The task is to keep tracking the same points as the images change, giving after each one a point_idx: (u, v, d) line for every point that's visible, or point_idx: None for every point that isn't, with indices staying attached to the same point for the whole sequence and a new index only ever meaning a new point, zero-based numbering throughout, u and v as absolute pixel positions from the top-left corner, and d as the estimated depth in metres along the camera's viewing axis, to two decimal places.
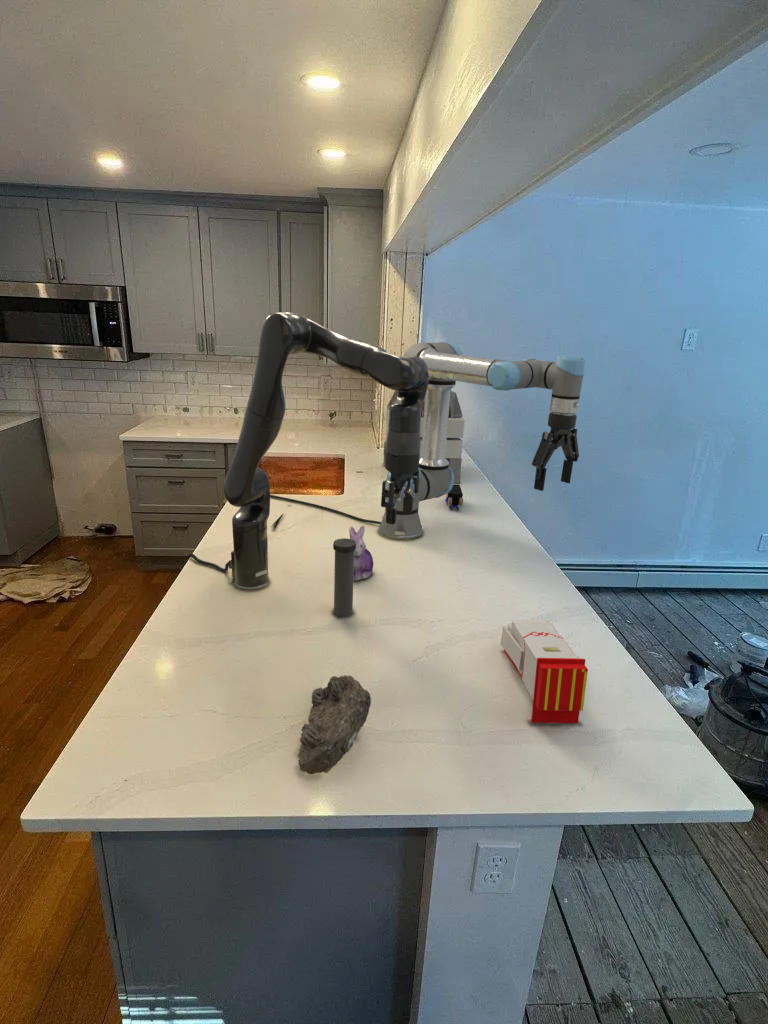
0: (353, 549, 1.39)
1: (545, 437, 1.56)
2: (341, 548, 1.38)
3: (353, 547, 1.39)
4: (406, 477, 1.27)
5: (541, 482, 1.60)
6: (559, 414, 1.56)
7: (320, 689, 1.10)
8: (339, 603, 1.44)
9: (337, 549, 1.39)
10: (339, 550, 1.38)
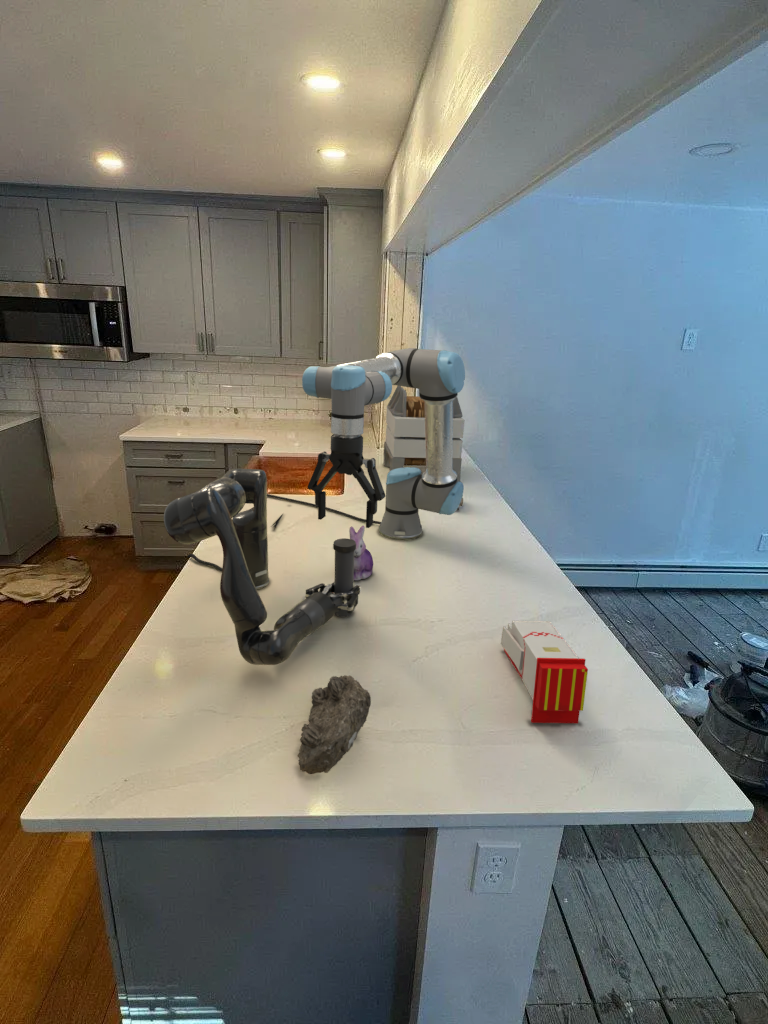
0: (353, 549, 1.39)
1: (373, 465, 1.31)
2: (341, 548, 1.38)
3: (353, 547, 1.39)
4: None
5: (372, 515, 1.36)
6: (360, 435, 1.31)
7: (320, 689, 1.10)
8: None
9: (337, 549, 1.39)
10: (339, 550, 1.38)
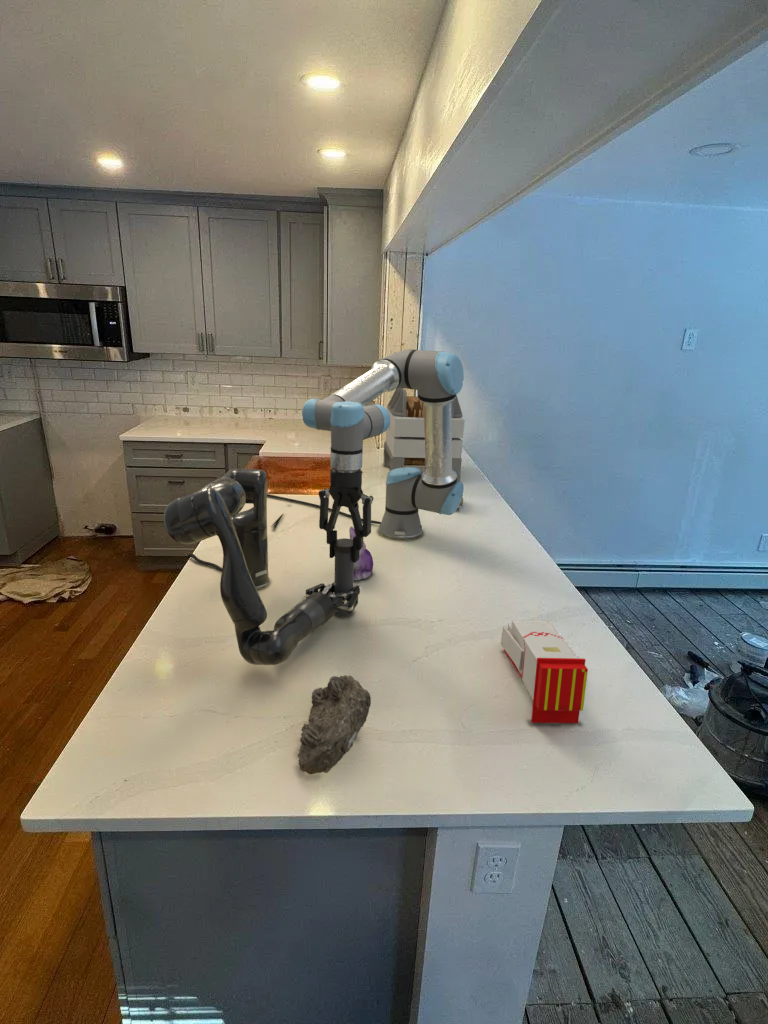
0: None
1: (370, 503, 1.35)
2: (341, 548, 1.38)
3: None
4: None
5: (358, 550, 1.41)
6: (359, 469, 1.34)
7: (320, 689, 1.10)
8: None
9: (337, 549, 1.39)
10: (339, 550, 1.38)
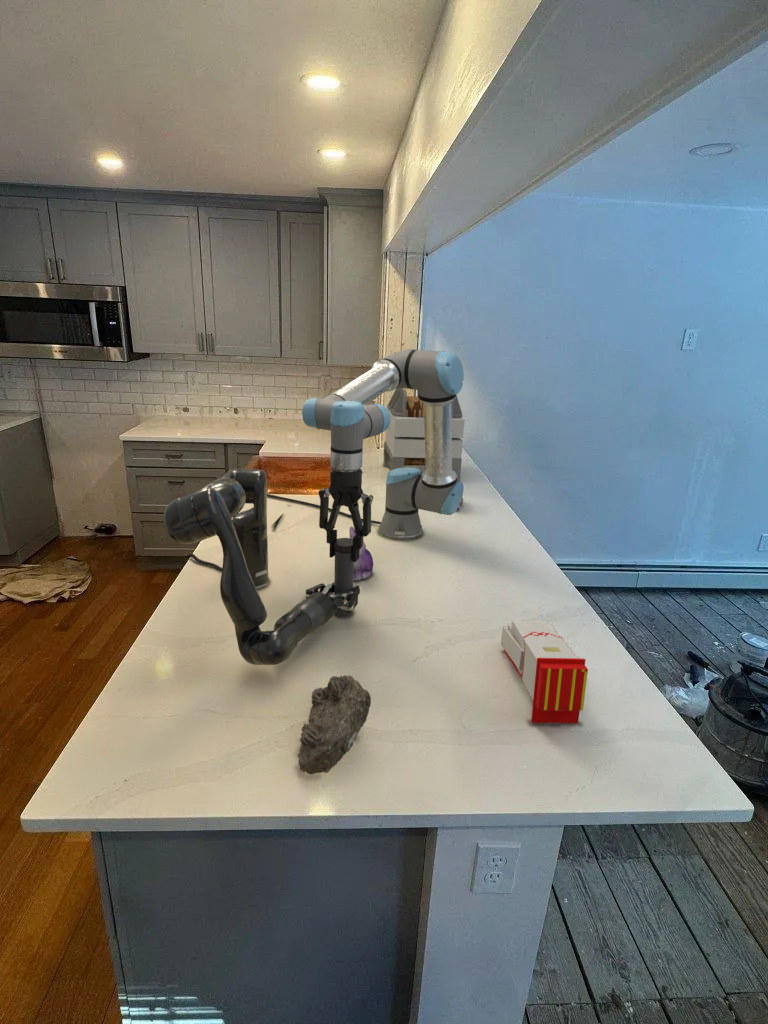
0: None
1: (370, 503, 1.35)
2: None
3: None
4: None
5: (358, 550, 1.41)
6: (359, 468, 1.34)
7: (320, 689, 1.10)
8: None
9: None
10: None
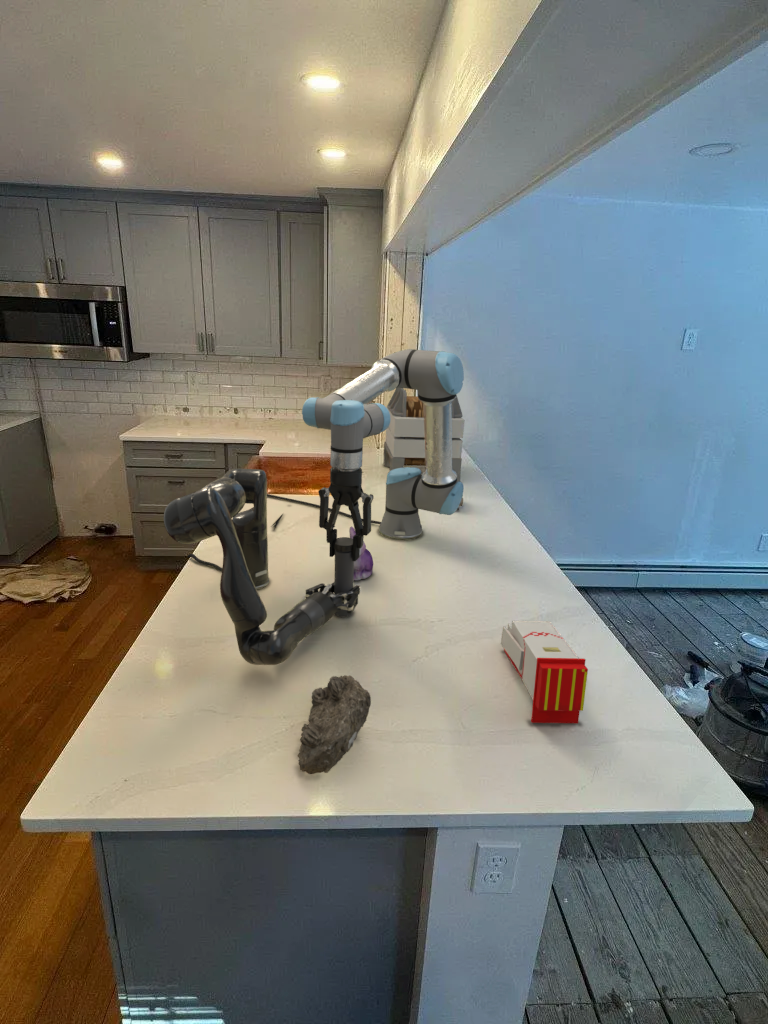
0: (335, 548, 1.39)
1: (370, 502, 1.34)
2: None
3: (335, 546, 1.39)
4: None
5: (358, 549, 1.41)
6: (359, 468, 1.34)
7: (320, 689, 1.10)
8: None
9: None
10: None
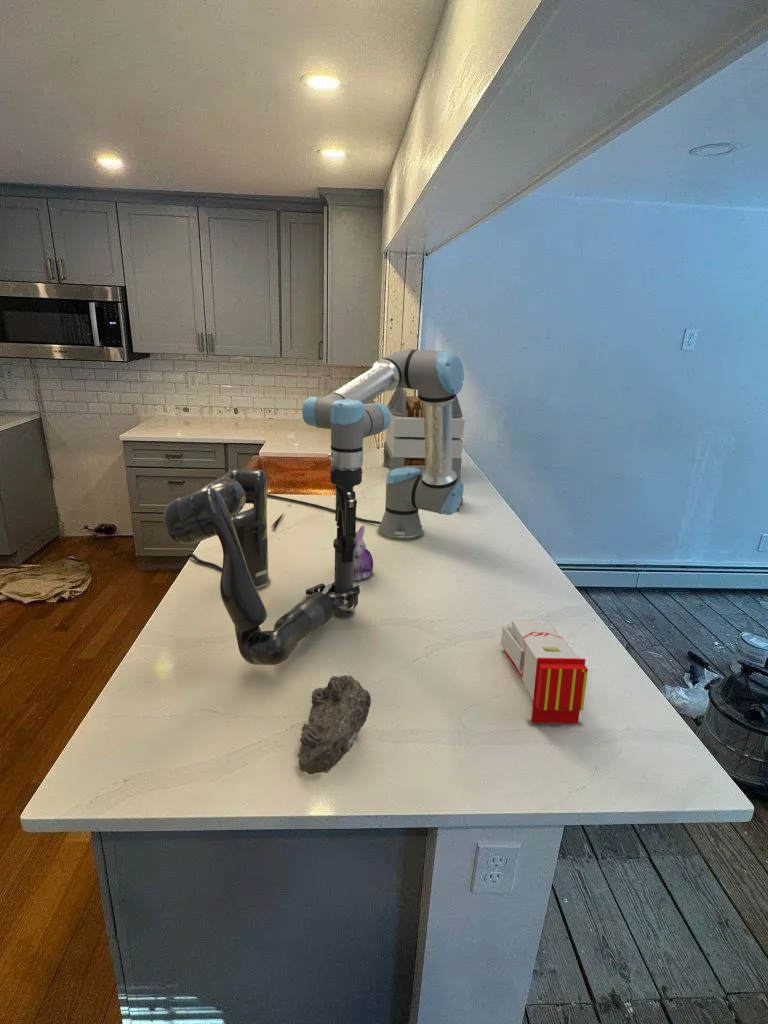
0: (355, 546, 1.40)
1: None
2: None
3: (355, 544, 1.40)
4: None
5: None
6: None
7: (320, 689, 1.10)
8: None
9: (341, 548, 1.38)
10: None
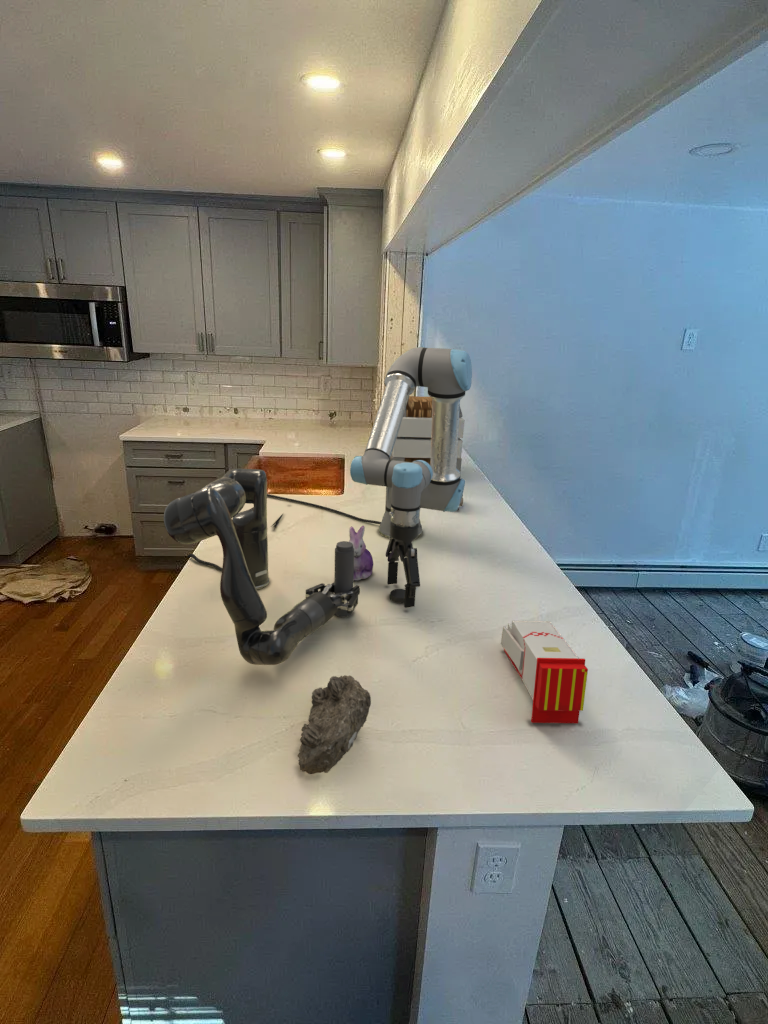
0: None
1: None
2: (402, 599, 1.53)
3: None
4: None
5: None
6: None
7: (320, 689, 1.10)
8: None
9: (398, 601, 1.53)
10: (400, 601, 1.53)
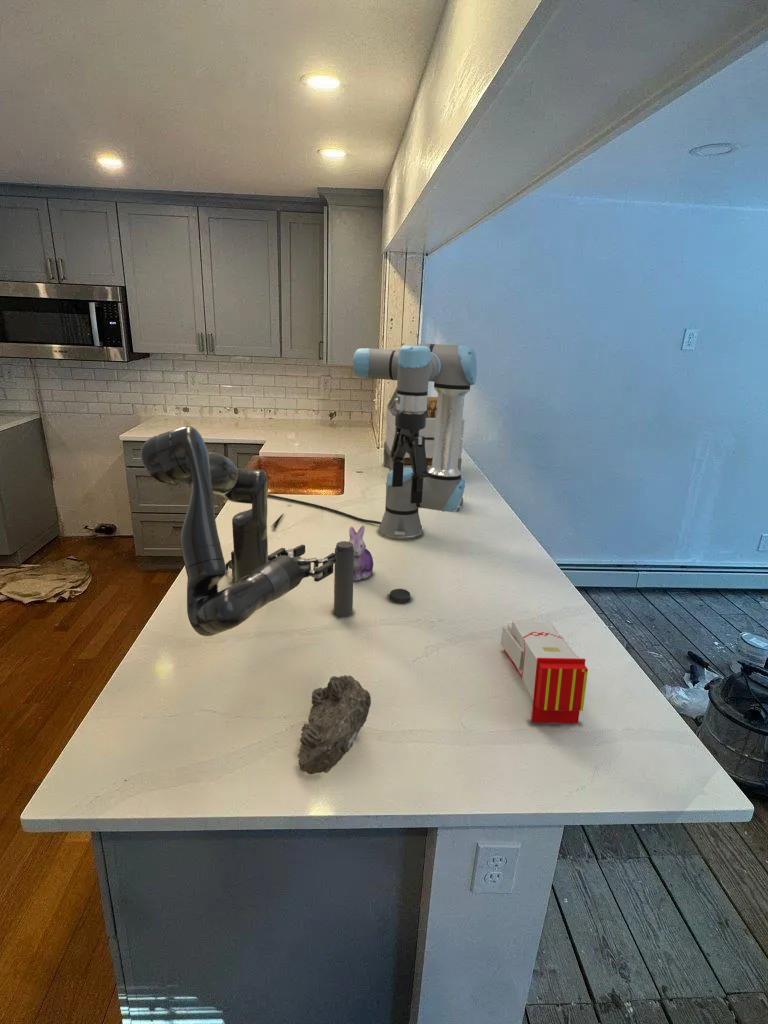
0: (409, 598, 1.55)
1: None
2: (402, 599, 1.53)
3: None
4: None
5: None
6: None
7: (320, 689, 1.10)
8: (339, 603, 1.44)
9: (398, 601, 1.53)
10: (400, 601, 1.53)
